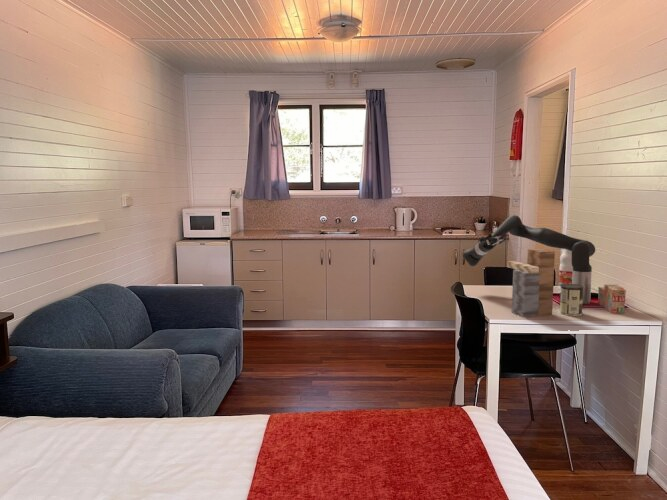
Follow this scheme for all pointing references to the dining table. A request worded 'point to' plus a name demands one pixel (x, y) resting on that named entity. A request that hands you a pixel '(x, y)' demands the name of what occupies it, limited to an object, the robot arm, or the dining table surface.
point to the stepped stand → (534, 286)
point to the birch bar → (523, 267)
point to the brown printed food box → (612, 298)
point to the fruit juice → (565, 268)
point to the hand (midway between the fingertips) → (498, 235)
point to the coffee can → (571, 299)
